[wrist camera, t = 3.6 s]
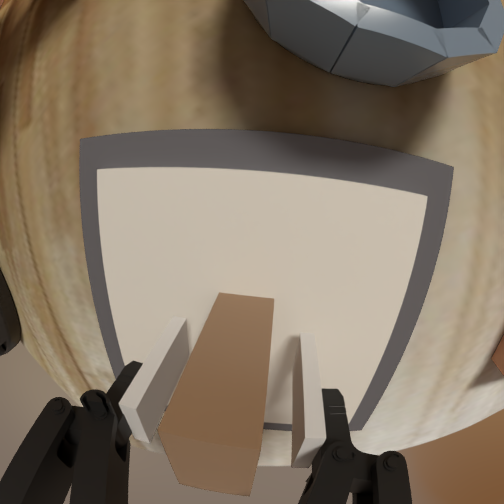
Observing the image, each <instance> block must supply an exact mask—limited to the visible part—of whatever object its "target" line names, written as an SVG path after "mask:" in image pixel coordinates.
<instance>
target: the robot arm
mask: <svg viewBox="0 0 504 504" xmlns="http://www.w3.org/2000/svg"><path fill="white" fill-rule="evenodd" d="M19 341H20V325H19V321H18V316H17V313H16V309H15V306H14V303H13V300H12V298H11V295H10V292H9V290H8V287H7V285H6V282H5V280H4V278H3V276H2V273H1V271H0V356H1V355H3V354H6V353H8V352H9V351H10V350H11V349H13V348H14V347H15V346H16V345H17V344H18V343H19ZM188 357H189V346H188V333H187V319H186V318H182V317H176V316H173V318H172V319H171V321H170V322H169V324H168V325H167V327H166V328H165V330H164V331H163V333H162V335H161V336H160V338H159V339H158V341H157V342H156V344H155V346H154V347H153V349H152V350H151V352H150V353H149V355H148V357H147V358H146V360H145V361H144V363H140V362H137V361H132V362H130V363H129V364H127V365H126V366H125V367H124V368H123V370H122V371H121V373H120V375H119V376H118V377H117V379H116V380H115V382H114V383H113V385H112V386H111V387H110V389H109V390H108V392H107V393H104V392H103V391H101V390H89V391H86V392H85V393H84V394H83V395H82V396H81V398H80V401H81V403H82V405H83V406H84V407H77V406H71V404H70V403H69V401H68V400H67V399H65V398H62V397H56V398H53V399H51V400H50V401H49V402H48V403H47V405H46V406H45V408H44V409H43V411H42V412H41V414H40V415H39V417H38V418H37V420H36V421H35V423H34V425H33V426H32V428H31V429H30V431H29V432H28V434H27V435H26V437H25V439H24V441H23V442H22V444H21V445H20V447H19V449H18V451H17V452H16V454H15V456H14V457H13V459H12V461H11V463H10V464H9V466H8V468H7V470H6V472H5V474H4V475H3V477H2V479H1V481H0V504H63V503H64V501H65V498H66V496H67V493H68V491H69V488H70V486H71V484H72V487H71V495H70V504H128V477H129V457H130V441H129V437H130V435H131V433H132V434H133V436H134V438H135V439H137V440H140V441H143V442H146V443H151V440H152V438H153V436H154V433H155V431H156V429H157V427H158V424H159V422H160V420H161V418H162V415H163V413H164V411H165V408H166V406H167V404H168V402H169V399H170V397H171V395H172V393H173V390H174V388H175V386H176V384H177V382H178V379H179V377H180V375H181V373H182V370H183V368H184V366H185V364H186V362H187V359H188ZM311 464H312V473H311V475H310V476H309V478H308V479H307V480H306V482H307V484H306V486H305V489H304V491H303V493H302V496H301V498H300V500H299V503H298V504H346V502H347V499H348V495H349V492H351V493H352V495H353V504H412V498H411V490H410V483H409V476H408V470H407V464H406V460H405V458H404V457H403V455H402V454H400V453H398V452H396V451H387V452H384V453H383V454H381V455H380V456H378V455H372V454H367V453H363V452H361V451H359V450H357V449H356V448H355V447H354V445H353V444H352V442H351V438H350V431H349V425H348V419H347V415H346V407H345V402H344V397H343V395H342V394H341V392H340V391H339V390H338V389H325V388H321V381H320V373H319V365H318V357H317V349H316V342H315V335H314V333H304V332H300V335H299V340H298V345H297V350H296V354H295V359H294V363H293V368H292V460H291V467H292V468H309V467H310V466H311Z"/></svg>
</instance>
